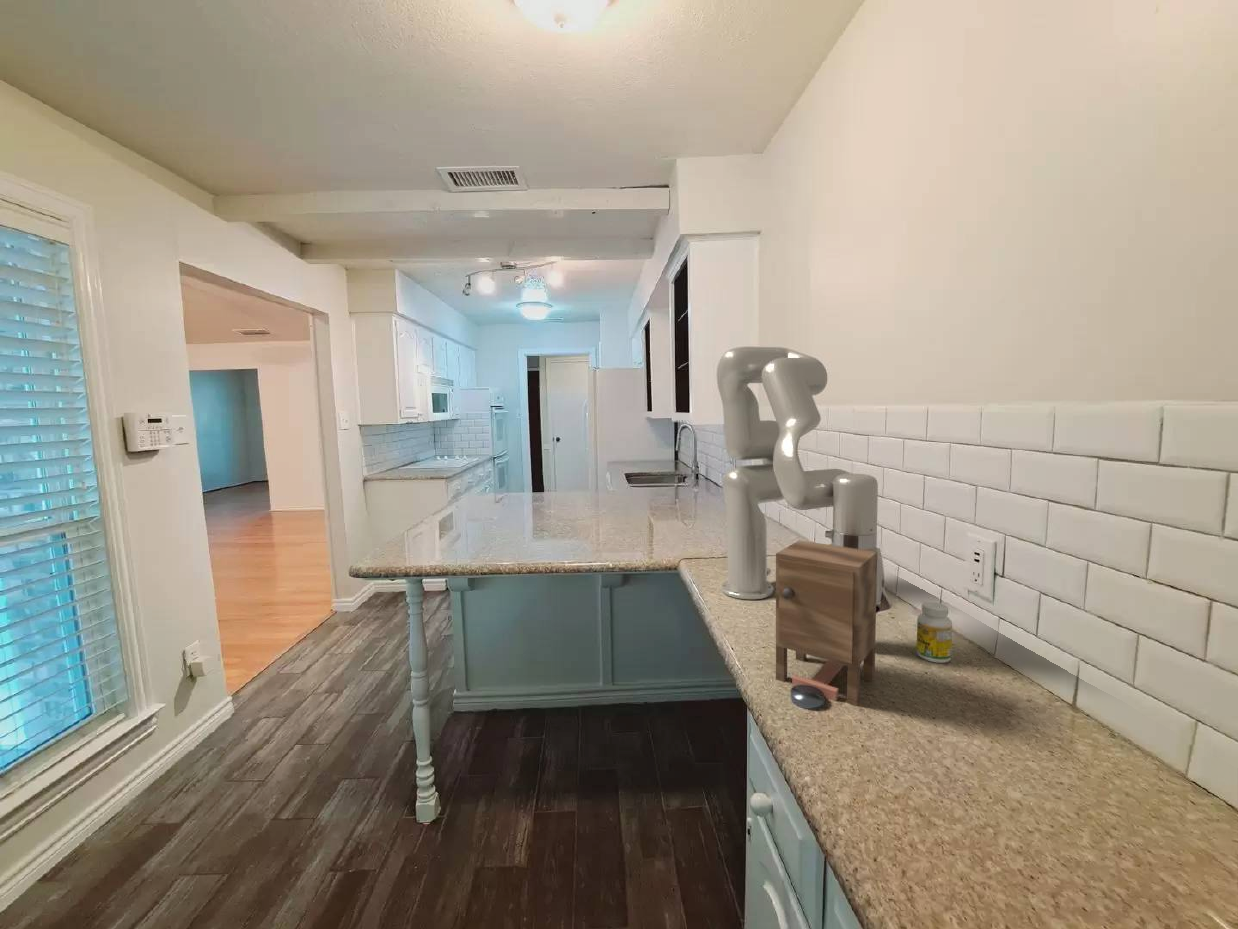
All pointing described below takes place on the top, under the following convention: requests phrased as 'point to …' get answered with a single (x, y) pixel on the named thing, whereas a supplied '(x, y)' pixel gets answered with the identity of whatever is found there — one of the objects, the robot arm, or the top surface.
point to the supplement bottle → (934, 633)
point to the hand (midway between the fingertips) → (852, 633)
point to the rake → (822, 679)
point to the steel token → (807, 697)
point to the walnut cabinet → (827, 608)
